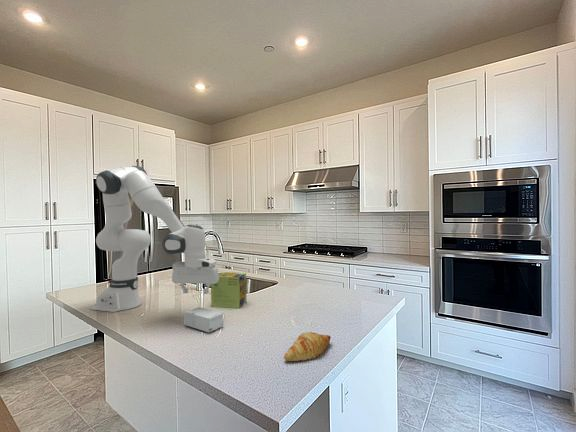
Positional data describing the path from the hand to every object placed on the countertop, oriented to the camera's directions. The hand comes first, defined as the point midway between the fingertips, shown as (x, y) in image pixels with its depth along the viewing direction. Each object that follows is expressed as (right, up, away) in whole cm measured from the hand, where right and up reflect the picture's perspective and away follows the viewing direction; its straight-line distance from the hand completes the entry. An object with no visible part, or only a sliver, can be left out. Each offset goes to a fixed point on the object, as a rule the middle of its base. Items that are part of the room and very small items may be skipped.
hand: (195, 293), depth 132 cm
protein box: (+10, -12, +22) cm, 27 cm away
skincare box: (-1, -9, -3) cm, 10 cm away
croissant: (+47, -13, -29) cm, 57 cm away
